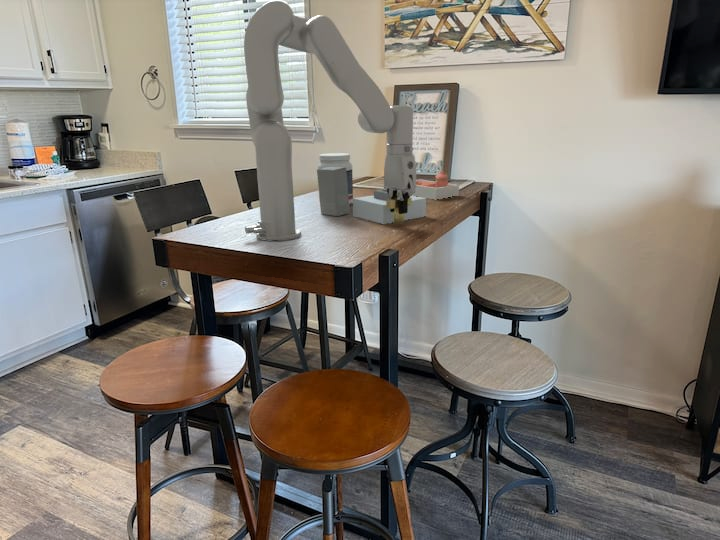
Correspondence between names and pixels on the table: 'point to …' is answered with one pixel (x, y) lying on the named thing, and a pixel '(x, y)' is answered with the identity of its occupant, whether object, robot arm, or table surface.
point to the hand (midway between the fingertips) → (398, 211)
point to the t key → (394, 204)
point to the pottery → (439, 182)
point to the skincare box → (333, 191)
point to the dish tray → (436, 191)
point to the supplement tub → (339, 161)
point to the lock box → (377, 210)
